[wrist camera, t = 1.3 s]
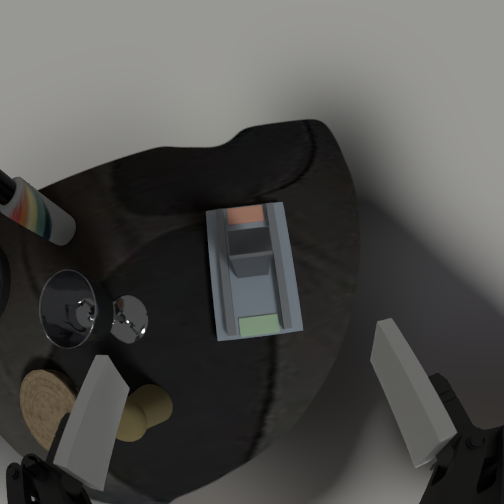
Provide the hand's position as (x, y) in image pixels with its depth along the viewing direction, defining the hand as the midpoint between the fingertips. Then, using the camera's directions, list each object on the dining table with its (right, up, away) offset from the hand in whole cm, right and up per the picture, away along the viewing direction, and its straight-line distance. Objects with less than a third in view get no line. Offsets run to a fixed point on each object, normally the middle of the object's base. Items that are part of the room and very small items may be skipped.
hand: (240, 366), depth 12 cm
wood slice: (-32, -22, +21) cm, 44 cm away
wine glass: (-18, -5, +25) cm, 31 cm away
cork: (-13, -16, +22) cm, 30 cm away
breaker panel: (+1, +3, +26) cm, 27 cm away
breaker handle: (+1, +3, +25) cm, 25 cm away
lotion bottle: (-32, +9, +29) cm, 44 cm away
